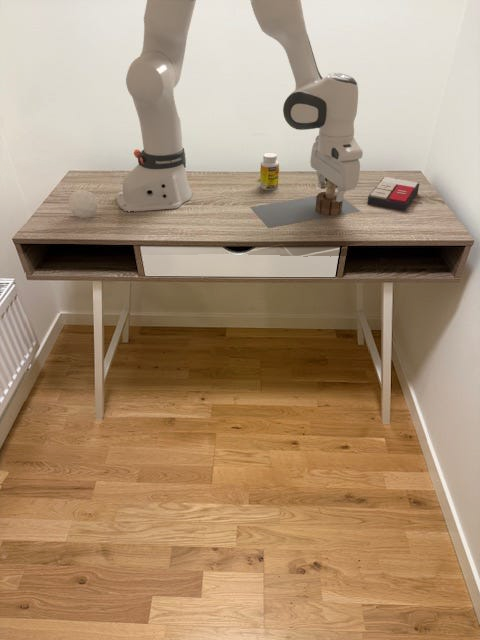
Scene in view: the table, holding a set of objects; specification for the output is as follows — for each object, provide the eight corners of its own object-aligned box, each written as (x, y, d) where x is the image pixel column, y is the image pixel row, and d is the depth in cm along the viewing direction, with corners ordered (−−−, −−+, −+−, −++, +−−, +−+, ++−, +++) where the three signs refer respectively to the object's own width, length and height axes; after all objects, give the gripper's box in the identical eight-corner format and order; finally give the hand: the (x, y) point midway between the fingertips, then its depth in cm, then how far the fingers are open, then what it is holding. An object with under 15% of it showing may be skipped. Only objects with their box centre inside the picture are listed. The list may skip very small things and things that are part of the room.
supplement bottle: (267, 192, 148) (267, 159, 142) (256, 186, 152) (257, 154, 146) (281, 188, 150) (283, 155, 144) (271, 182, 154) (271, 150, 148)
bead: (323, 217, 133) (324, 203, 131) (311, 207, 138) (312, 193, 136) (345, 212, 135) (347, 199, 133) (333, 203, 140) (334, 190, 138)
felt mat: (268, 229, 129) (268, 227, 128) (249, 208, 139) (249, 207, 139) (360, 212, 136) (360, 211, 136) (336, 193, 147) (336, 192, 146)
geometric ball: (95, 225, 138) (103, 208, 132) (66, 222, 134) (73, 204, 128) (91, 203, 141) (99, 186, 135) (63, 199, 136) (70, 181, 130)
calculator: (367, 194, 138) (383, 174, 148) (366, 208, 141) (381, 187, 150) (406, 201, 133) (420, 180, 143) (403, 215, 136) (417, 194, 146)
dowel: (326, 212, 136) (330, 177, 129) (322, 208, 137) (326, 174, 131) (334, 210, 136) (338, 176, 130) (330, 207, 138) (334, 173, 132)
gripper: (306, 133, 132) (303, 182, 141) (343, 157, 117) (337, 210, 125) (327, 131, 134) (322, 179, 142) (366, 154, 119) (358, 206, 127)
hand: (330, 194), depth 134 cm, fingers open, 8 cm apart
